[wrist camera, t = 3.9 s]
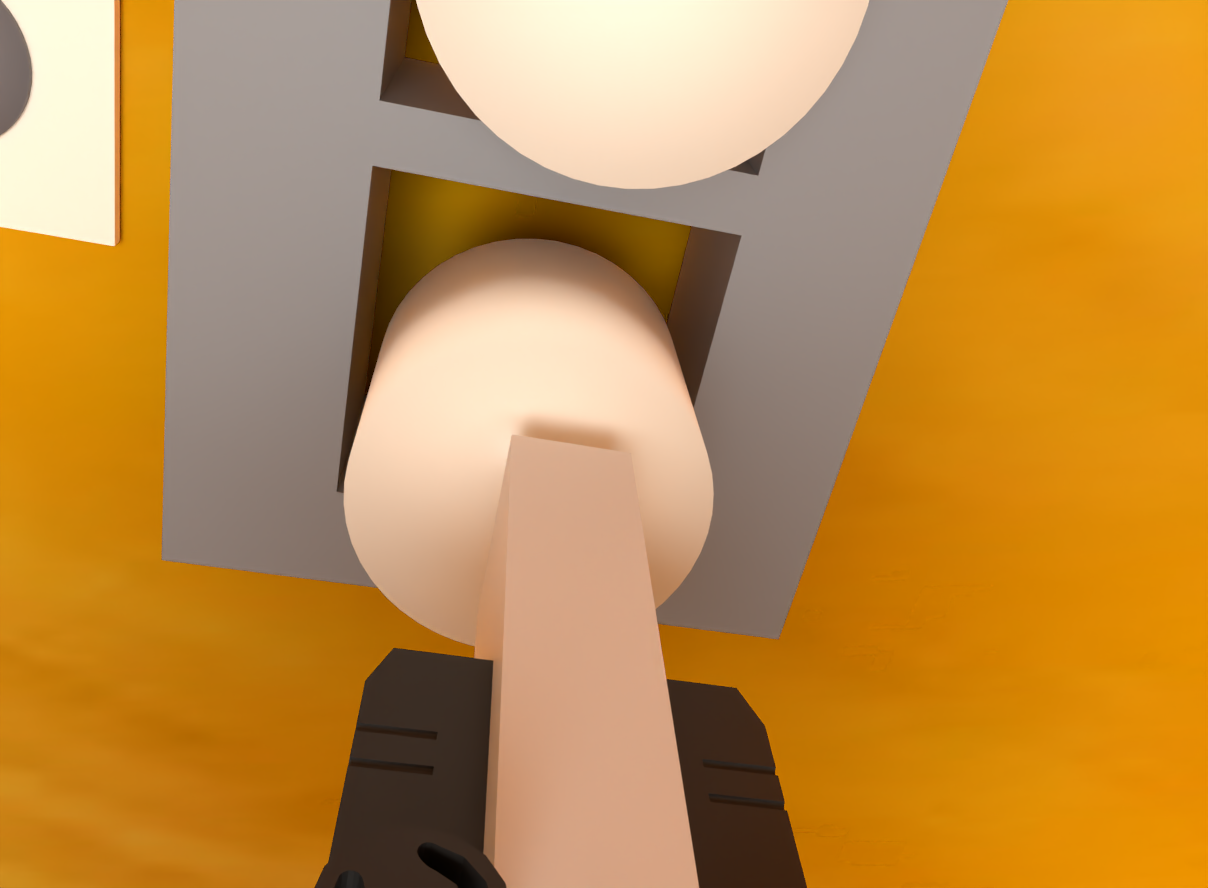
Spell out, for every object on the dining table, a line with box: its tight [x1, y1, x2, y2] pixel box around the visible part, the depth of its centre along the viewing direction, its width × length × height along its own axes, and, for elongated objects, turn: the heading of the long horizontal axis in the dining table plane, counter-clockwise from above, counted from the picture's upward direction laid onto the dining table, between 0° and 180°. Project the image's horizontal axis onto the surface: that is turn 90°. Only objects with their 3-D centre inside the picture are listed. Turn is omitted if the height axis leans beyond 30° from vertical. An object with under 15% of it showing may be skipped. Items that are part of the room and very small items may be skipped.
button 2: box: [344, 239, 714, 646], centre depth 17 cm, size 5×5×6 cm
